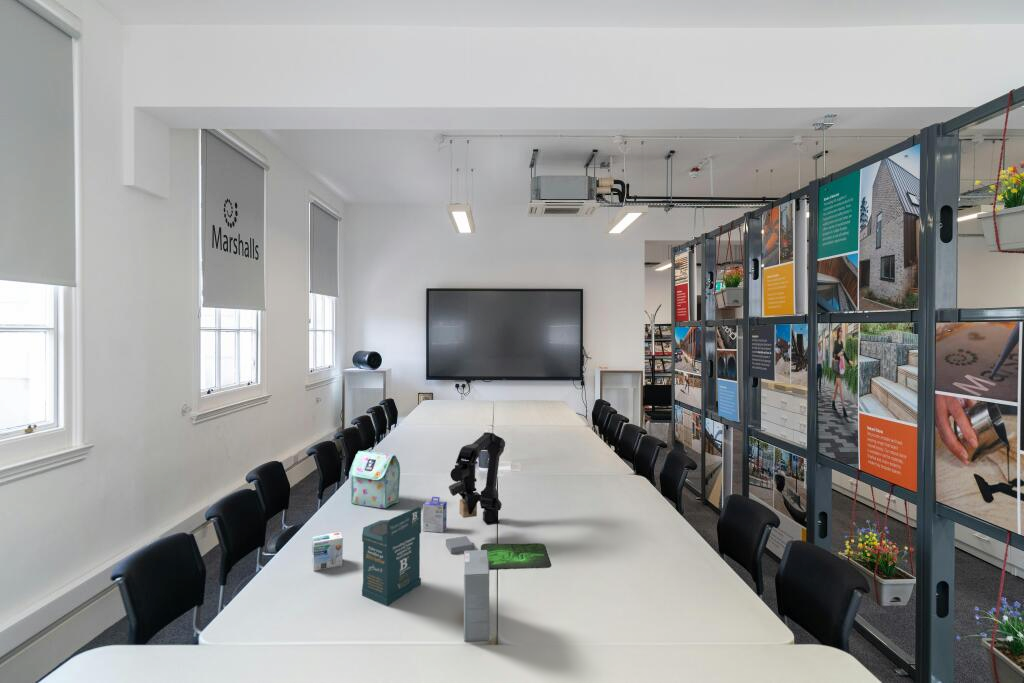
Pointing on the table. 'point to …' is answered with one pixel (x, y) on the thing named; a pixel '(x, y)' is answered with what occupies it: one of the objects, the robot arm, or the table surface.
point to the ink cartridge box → (434, 515)
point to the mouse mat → (517, 556)
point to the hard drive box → (476, 595)
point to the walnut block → (466, 509)
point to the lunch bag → (375, 479)
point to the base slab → (459, 545)
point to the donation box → (392, 557)
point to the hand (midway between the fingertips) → (468, 511)
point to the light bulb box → (327, 551)
